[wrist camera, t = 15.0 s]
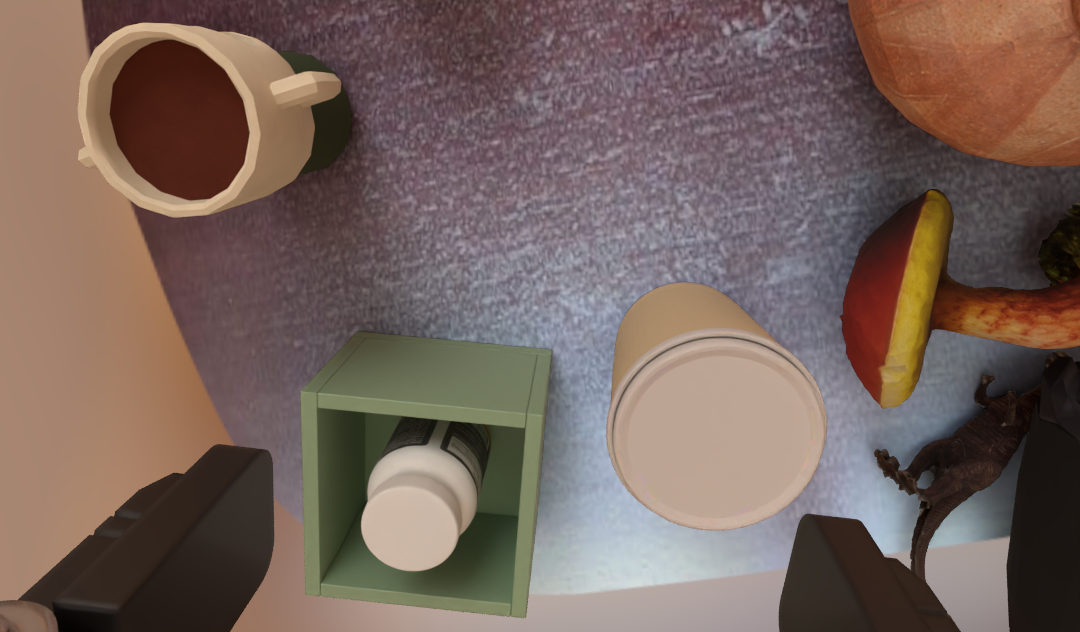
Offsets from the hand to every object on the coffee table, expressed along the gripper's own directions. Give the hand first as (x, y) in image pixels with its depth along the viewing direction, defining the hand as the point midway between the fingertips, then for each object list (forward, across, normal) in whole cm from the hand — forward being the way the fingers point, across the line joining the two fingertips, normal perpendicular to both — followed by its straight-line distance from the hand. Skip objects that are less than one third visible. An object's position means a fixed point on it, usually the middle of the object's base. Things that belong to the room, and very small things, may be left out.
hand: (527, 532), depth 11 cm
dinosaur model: (+28, -24, +6) cm, 37 cm away
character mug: (+31, +15, -4) cm, 34 cm away
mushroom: (+20, -28, +1) cm, 35 cm away
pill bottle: (+30, +6, +14) cm, 33 cm away
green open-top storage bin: (+30, +6, +14) cm, 34 cm away
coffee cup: (+30, -8, +7) cm, 32 cm away
